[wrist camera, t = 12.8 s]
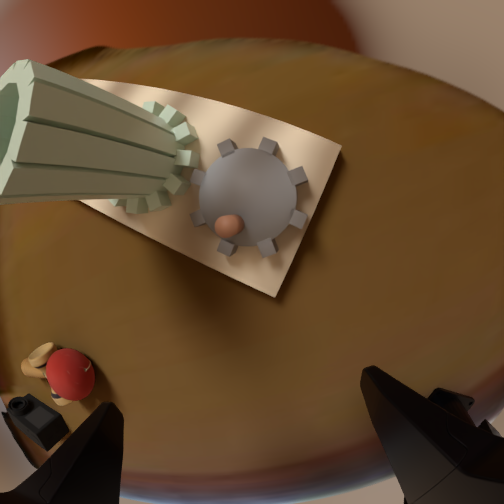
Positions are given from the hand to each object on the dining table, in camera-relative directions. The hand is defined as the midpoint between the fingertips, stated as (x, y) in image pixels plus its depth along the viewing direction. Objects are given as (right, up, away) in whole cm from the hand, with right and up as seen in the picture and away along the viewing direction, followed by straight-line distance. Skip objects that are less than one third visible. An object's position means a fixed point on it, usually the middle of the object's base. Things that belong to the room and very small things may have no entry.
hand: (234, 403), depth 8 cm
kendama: (-24, -10, +19) cm, 33 cm away
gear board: (-7, +12, +12) cm, 18 cm away
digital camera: (-35, -23, +24) cm, 48 cm away
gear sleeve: (-7, +12, +11) cm, 17 cm away
